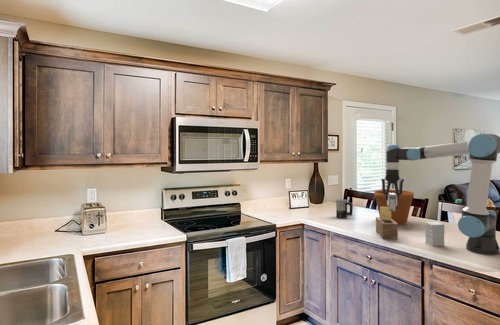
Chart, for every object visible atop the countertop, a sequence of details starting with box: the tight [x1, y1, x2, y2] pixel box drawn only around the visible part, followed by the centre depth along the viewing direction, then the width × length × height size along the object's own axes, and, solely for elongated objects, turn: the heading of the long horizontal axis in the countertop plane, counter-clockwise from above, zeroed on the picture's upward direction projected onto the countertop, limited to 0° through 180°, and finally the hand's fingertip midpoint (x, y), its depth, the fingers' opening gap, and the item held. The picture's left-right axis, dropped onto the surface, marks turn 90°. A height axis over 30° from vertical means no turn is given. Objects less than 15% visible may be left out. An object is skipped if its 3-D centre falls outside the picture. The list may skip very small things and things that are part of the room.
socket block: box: [375, 216, 399, 240], centre depth 214 cm, size 19×9×10 cm, turn 171°
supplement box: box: [424, 221, 445, 247], centre depth 191 cm, size 7×7×13 cm
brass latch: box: [379, 207, 391, 220], centre depth 215 cm, size 1×7×8 cm, turn 80°
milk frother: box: [335, 199, 354, 219], centre depth 274 cm, size 14×16×15 cm
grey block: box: [388, 193, 397, 211], centre depth 205 cm, size 7×4×11 cm, turn 171°
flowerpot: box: [373, 189, 415, 226], centre depth 250 cm, size 28×28×24 cm
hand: (391, 205), depth 205 cm, fingers closed on grey block, 4 cm apart
